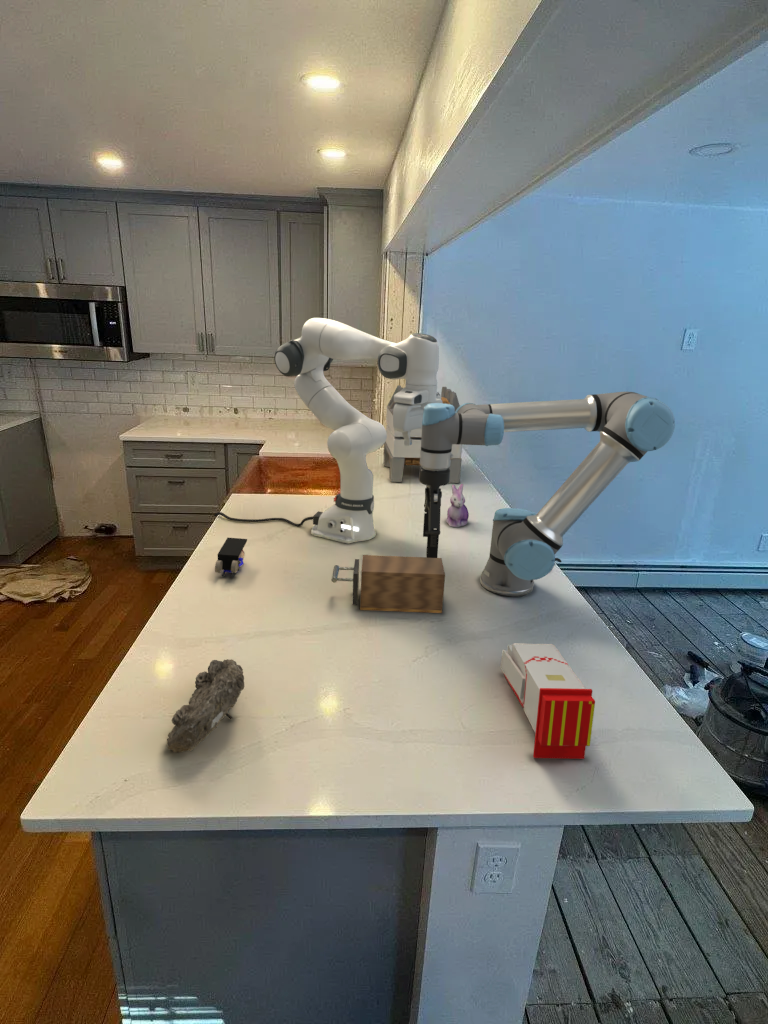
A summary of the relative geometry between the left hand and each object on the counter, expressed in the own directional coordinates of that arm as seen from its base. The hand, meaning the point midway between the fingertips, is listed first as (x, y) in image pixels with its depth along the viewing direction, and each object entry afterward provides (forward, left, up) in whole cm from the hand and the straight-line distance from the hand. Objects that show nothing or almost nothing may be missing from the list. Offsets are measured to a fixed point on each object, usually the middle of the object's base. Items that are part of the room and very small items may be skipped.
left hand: (417, 442), depth 164 cm
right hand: (+10, -24, -21) cm, 33 cm away
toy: (+40, -58, -38) cm, 80 cm away
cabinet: (+3, -24, -38) cm, 46 cm away
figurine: (+8, +41, -38) cm, 57 cm away
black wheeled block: (-49, -23, -38) cm, 66 cm away
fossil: (-19, -81, -38) cm, 92 cm away
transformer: (-20, +103, -38) cm, 112 cm away
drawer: (-2, -26, -37) cm, 46 cm away
